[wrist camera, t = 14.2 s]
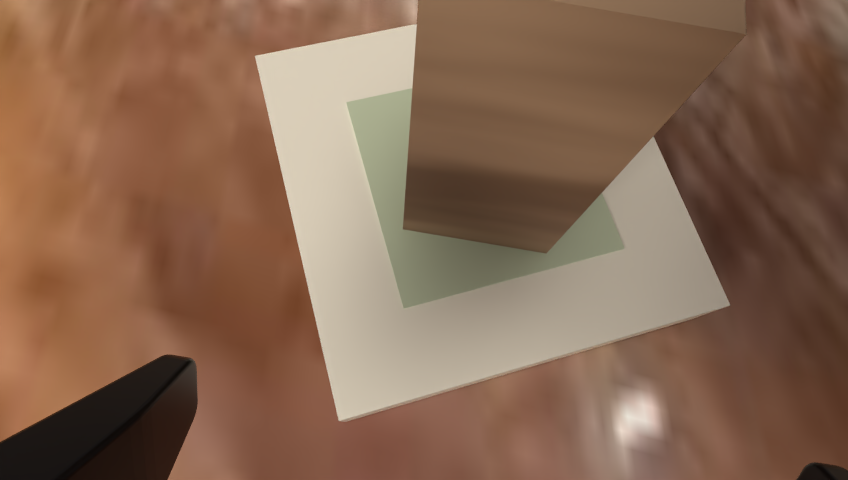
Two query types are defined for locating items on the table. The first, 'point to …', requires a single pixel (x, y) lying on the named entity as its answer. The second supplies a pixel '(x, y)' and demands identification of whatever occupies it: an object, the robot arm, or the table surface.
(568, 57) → the walnut pillar
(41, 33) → the table surface
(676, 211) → the baseplate
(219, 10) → the table surface
